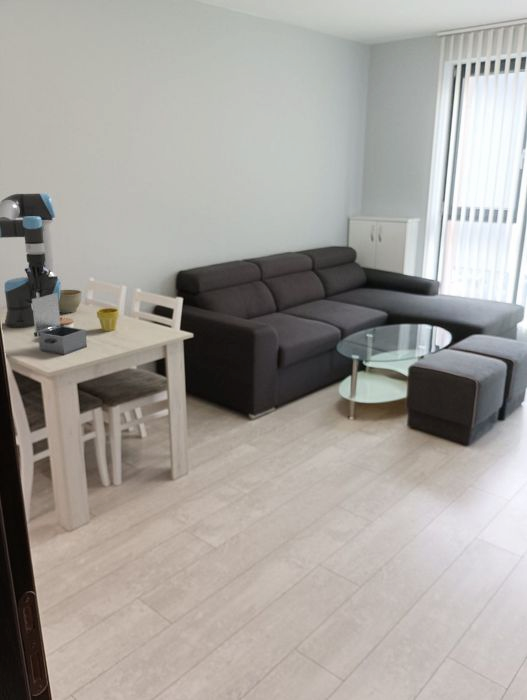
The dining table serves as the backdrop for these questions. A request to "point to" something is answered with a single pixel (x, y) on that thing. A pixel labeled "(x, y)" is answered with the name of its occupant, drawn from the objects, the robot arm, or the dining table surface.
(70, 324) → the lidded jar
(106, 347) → the dining table surface
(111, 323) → the plant pot
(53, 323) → the lid
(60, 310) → the planter bowl
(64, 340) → the storage box
